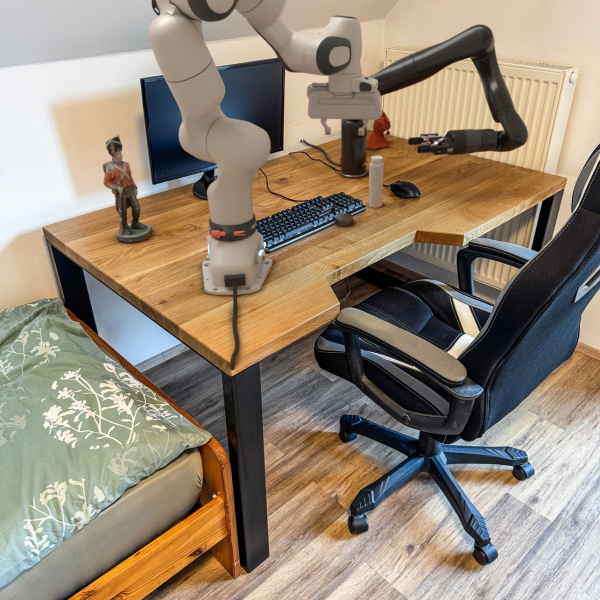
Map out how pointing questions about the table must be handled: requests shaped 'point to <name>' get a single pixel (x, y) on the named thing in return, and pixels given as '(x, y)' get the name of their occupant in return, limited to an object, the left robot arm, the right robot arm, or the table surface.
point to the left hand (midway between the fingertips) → (344, 134)
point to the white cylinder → (376, 181)
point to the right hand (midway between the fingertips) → (413, 145)
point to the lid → (344, 219)
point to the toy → (379, 133)
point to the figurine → (124, 194)
